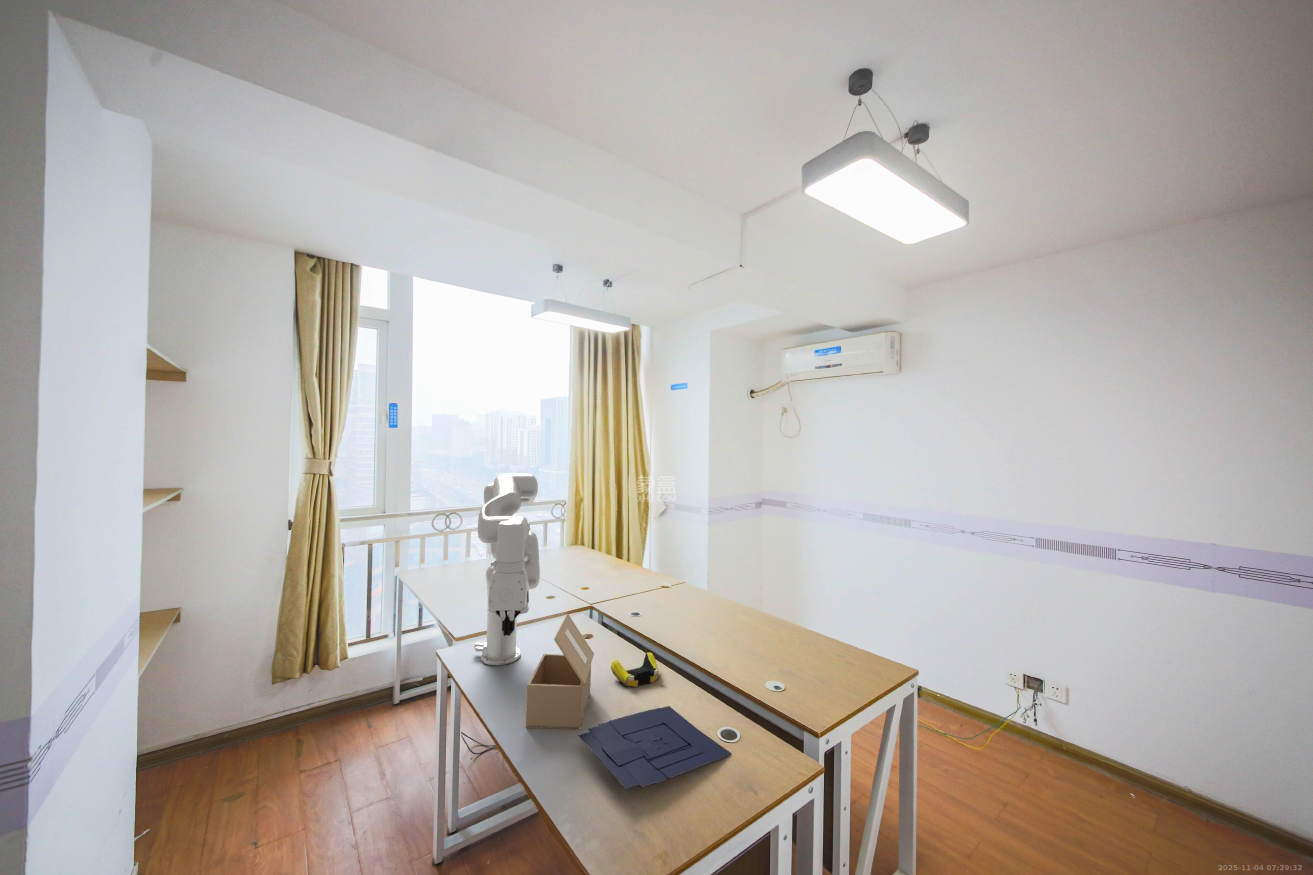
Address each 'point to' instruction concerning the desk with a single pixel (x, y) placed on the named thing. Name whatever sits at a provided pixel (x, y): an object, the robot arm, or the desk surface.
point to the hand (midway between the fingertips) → (508, 633)
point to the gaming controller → (637, 672)
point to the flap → (574, 648)
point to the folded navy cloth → (651, 746)
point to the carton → (556, 695)
